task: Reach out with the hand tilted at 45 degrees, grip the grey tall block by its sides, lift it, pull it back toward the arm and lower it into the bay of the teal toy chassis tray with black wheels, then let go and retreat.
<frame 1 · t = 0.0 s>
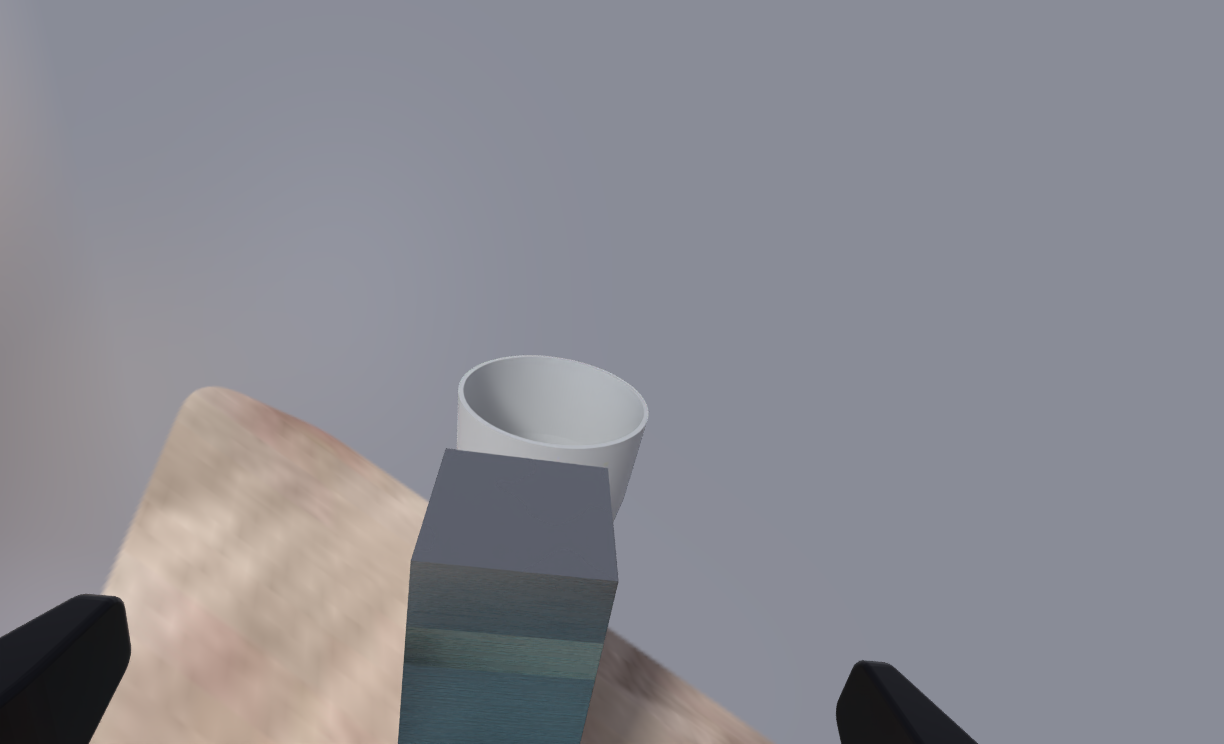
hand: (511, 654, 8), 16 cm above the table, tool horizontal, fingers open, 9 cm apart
cup: (525, 578, 33), on the table
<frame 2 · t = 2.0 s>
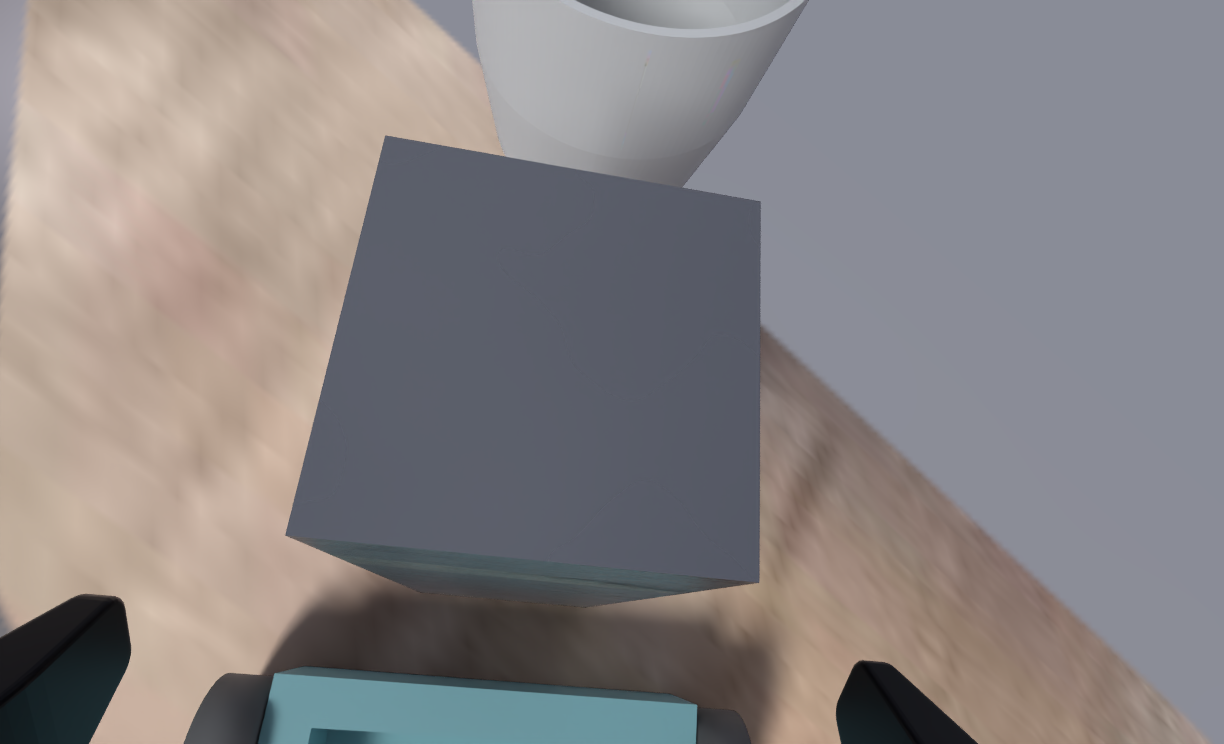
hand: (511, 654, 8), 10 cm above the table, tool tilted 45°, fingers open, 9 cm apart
cup: (588, 178, 24), on the table
grey tall block: (515, 517, 19), on the table
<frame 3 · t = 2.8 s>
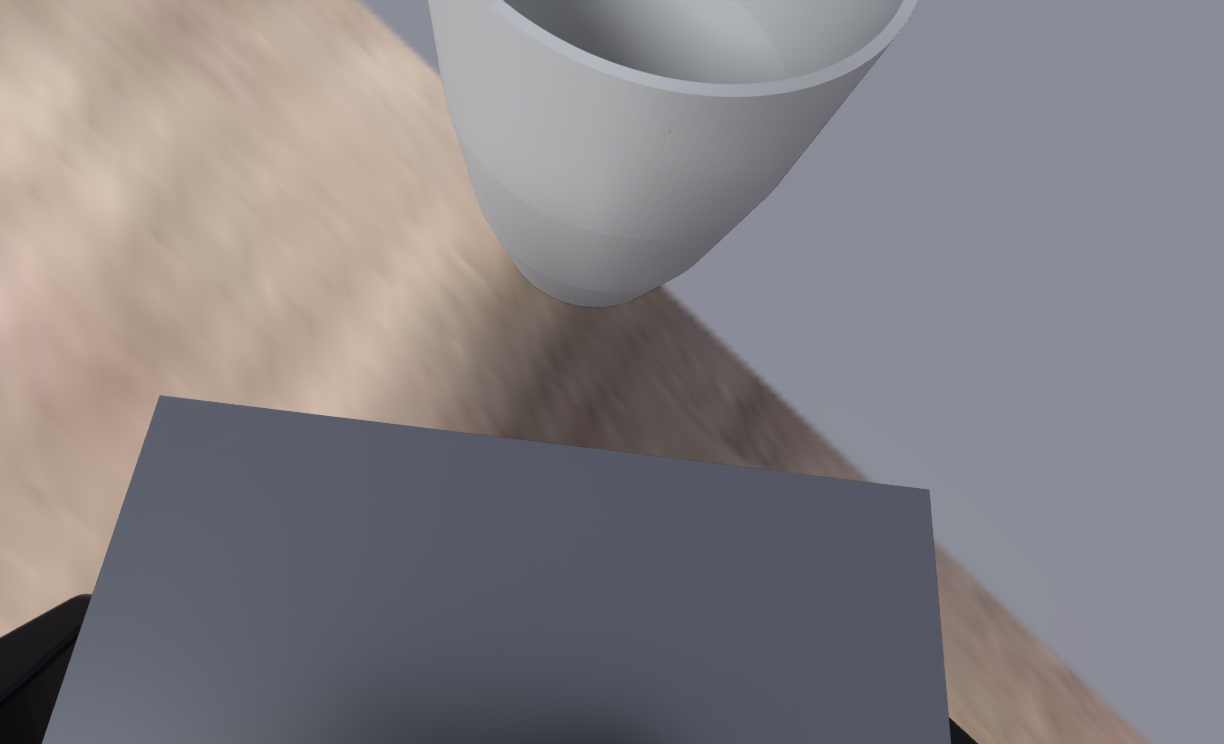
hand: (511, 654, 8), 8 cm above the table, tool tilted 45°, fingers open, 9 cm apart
cup: (588, 233, 20), on the table
grey tall block: (495, 680, 15), on the table
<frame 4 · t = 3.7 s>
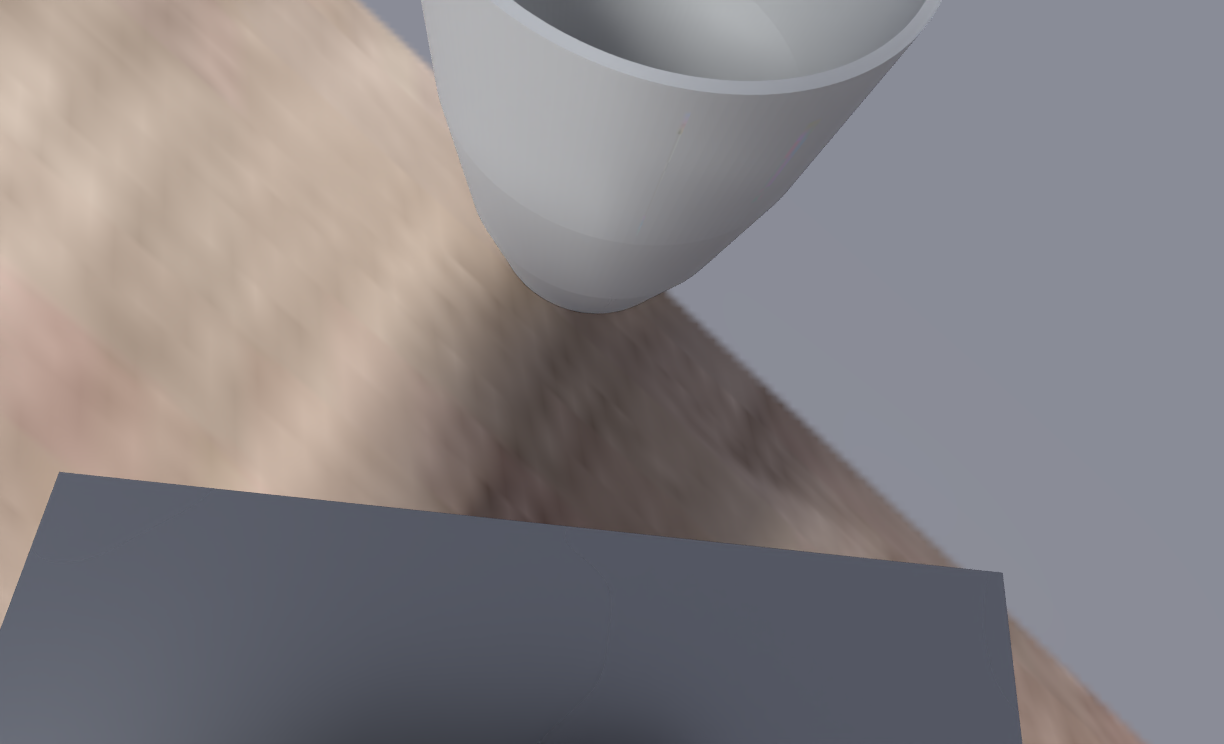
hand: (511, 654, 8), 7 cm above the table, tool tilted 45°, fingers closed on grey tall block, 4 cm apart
cup: (589, 236, 19), on the table
grey tall block: (492, 706, 14), on the table, touching gripper
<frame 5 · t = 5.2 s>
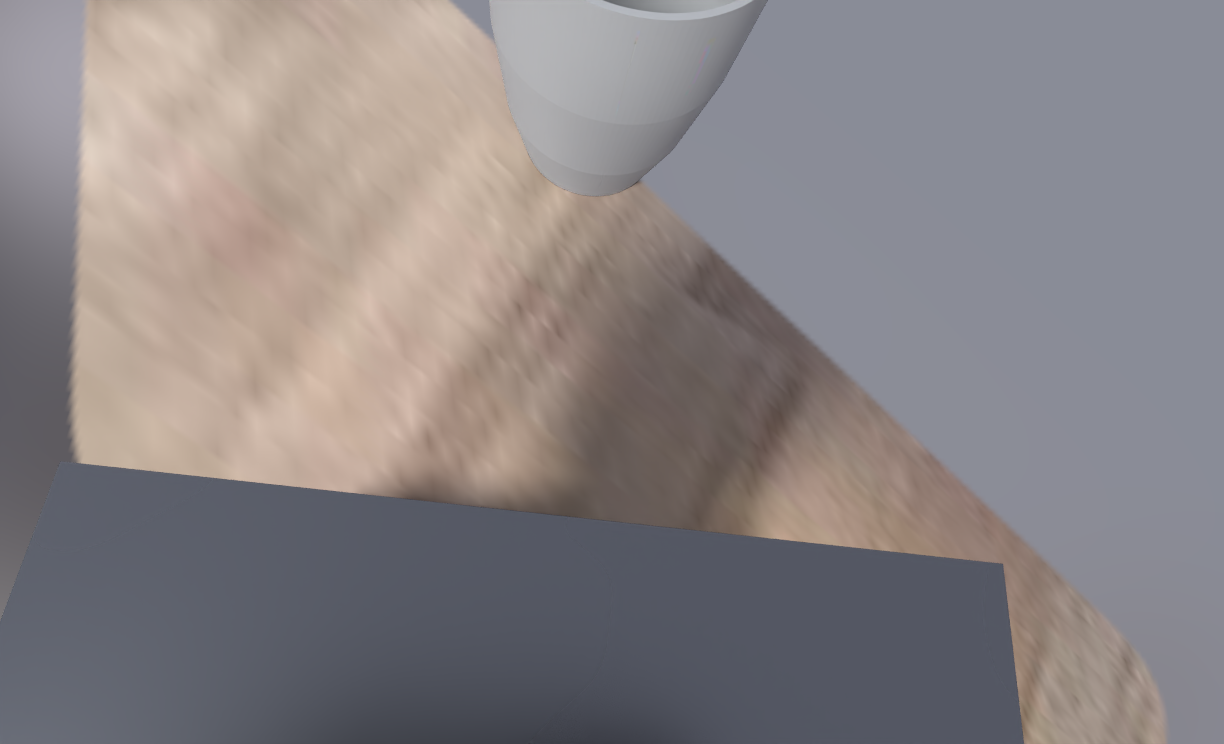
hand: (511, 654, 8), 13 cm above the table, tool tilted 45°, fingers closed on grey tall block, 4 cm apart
cup: (588, 144, 27), on the table
grey tall block: (492, 704, 14), point 6 cm above the table, touching gripper
when the fingers open (9 cm above the table, at t = 6.5 s): grey tall block drops 1 cm, resting on chassis.
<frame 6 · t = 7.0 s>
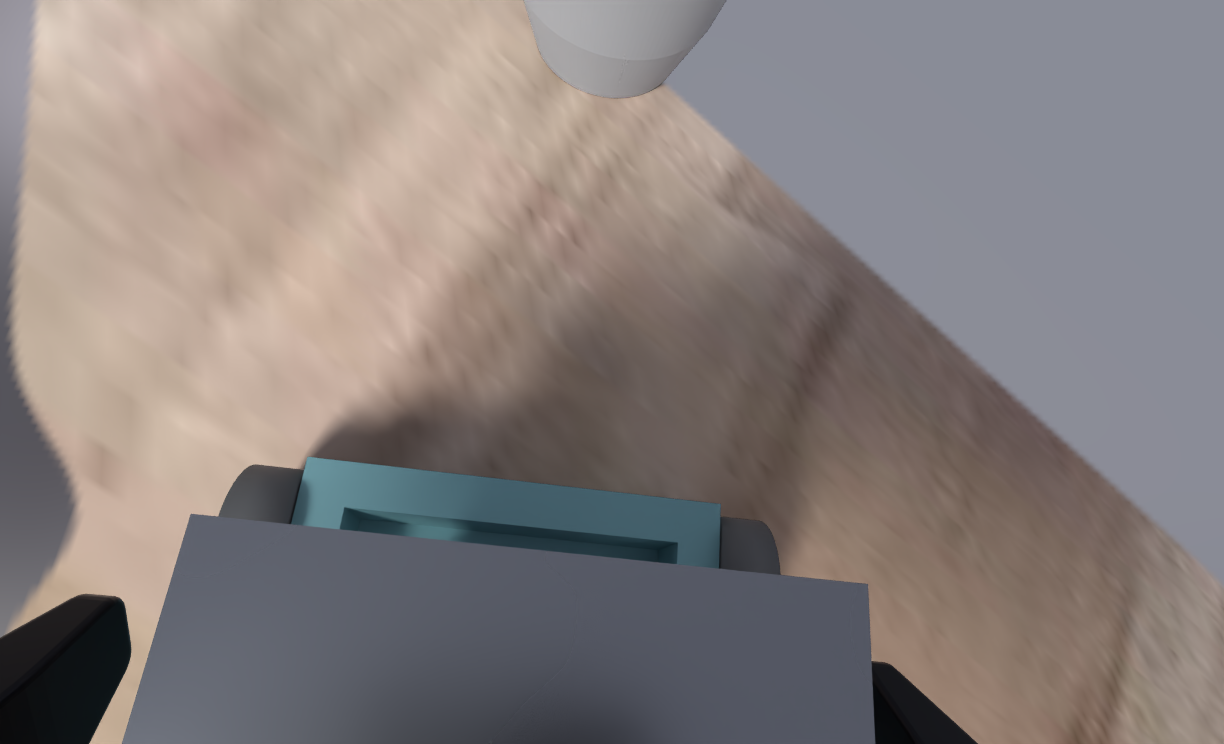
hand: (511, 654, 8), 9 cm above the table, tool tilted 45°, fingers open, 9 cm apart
cup: (605, 45, 24), on the table
grey tall block: (492, 698, 16), point 1 cm above the table, touching chassis
chassis: (492, 695, 16), on the table
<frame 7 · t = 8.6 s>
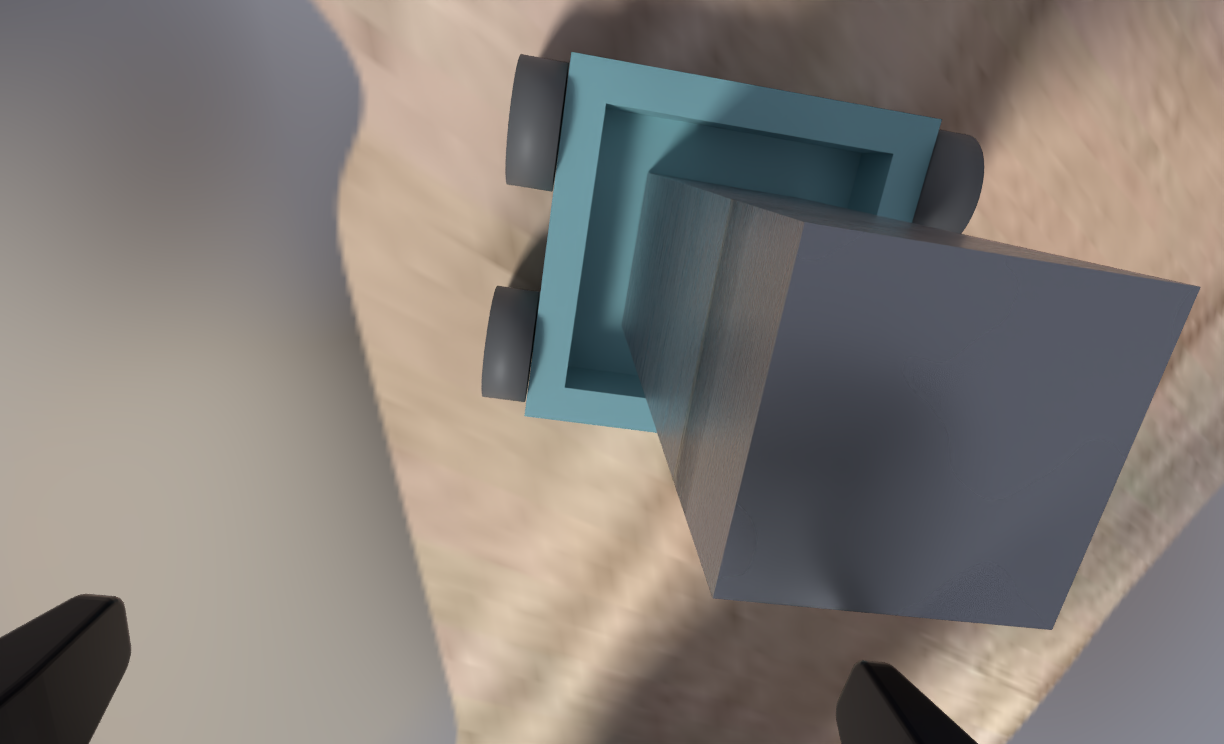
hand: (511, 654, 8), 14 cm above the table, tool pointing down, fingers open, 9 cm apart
grey tall block: (708, 263, 20), point 1 cm above the table, touching chassis
chassis: (704, 260, 21), on the table
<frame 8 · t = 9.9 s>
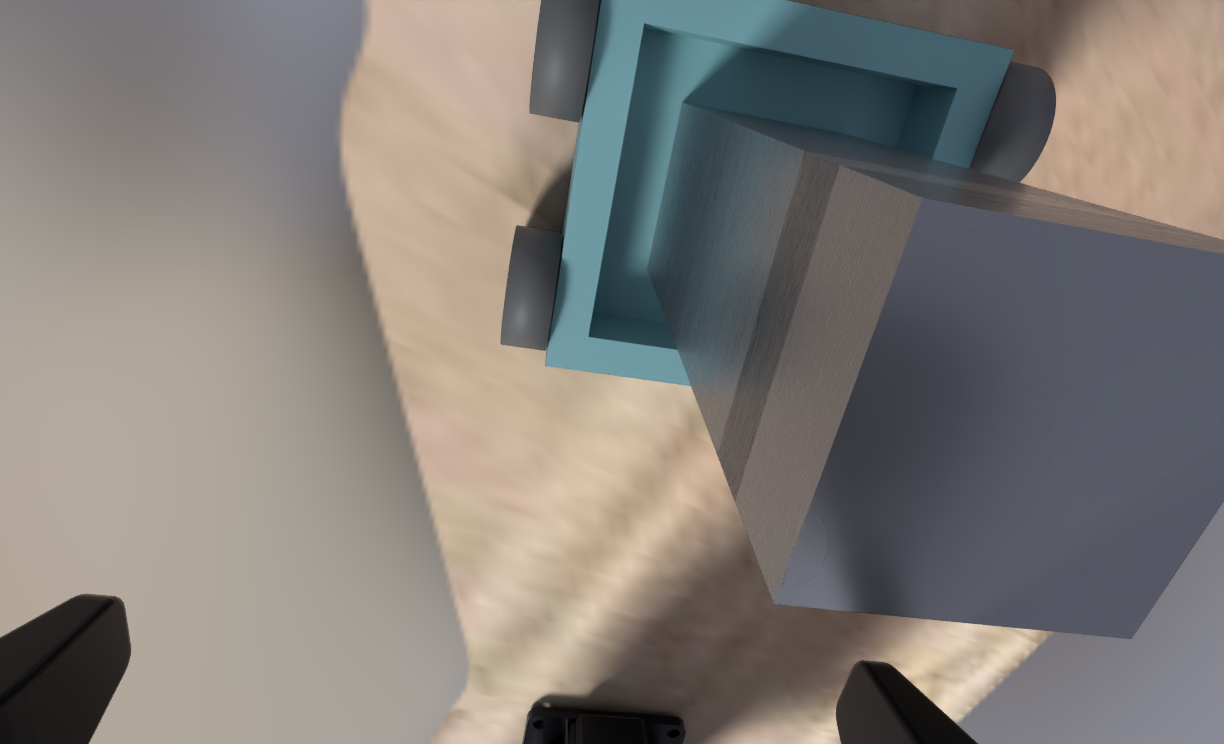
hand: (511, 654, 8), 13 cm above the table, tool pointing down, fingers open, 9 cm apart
grey tall block: (742, 203, 19), point 1 cm above the table, touching chassis
chassis: (737, 200, 19), on the table
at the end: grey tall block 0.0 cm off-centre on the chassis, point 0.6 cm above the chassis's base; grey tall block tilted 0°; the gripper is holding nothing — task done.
